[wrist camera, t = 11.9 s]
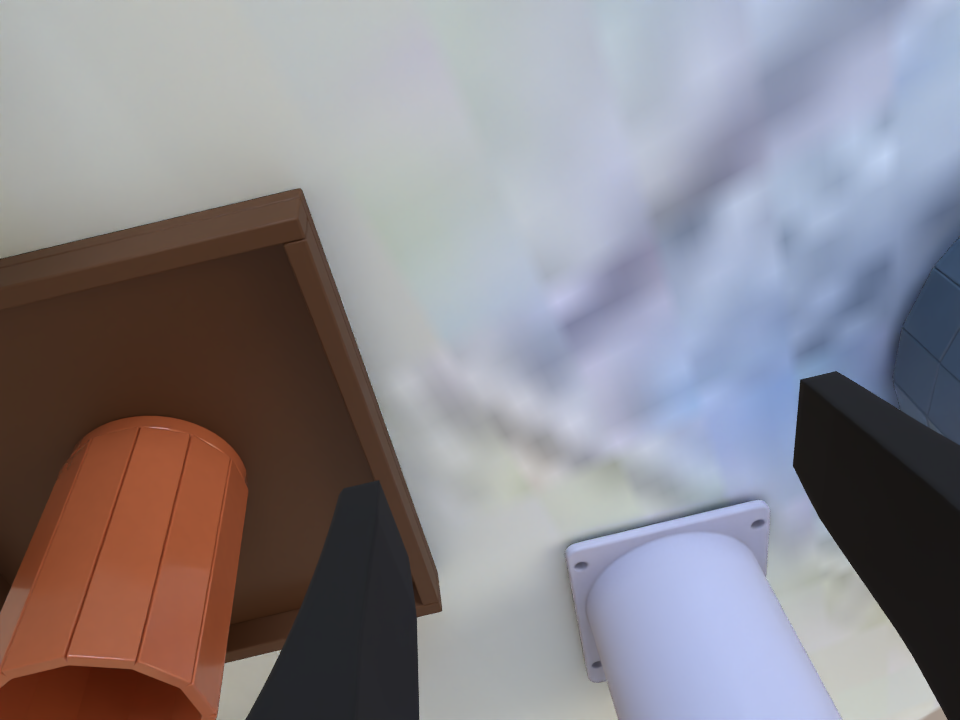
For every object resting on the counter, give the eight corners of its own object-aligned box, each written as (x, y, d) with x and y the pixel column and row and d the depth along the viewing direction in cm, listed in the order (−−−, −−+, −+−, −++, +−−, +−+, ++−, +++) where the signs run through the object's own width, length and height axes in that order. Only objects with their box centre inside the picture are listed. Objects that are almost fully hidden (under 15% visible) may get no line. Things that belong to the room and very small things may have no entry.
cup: (272, 515, 26) (247, 753, 19) (117, 552, 26) (41, 803, 19) (209, 396, 22) (155, 634, 16) (32, 438, 22) (-93, 693, 16)
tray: (437, 572, 29) (442, 611, 28) (77, 657, 29) (63, 702, 28) (301, 186, 20) (297, 217, 18) (-237, 314, 20) (-283, 354, 18)
